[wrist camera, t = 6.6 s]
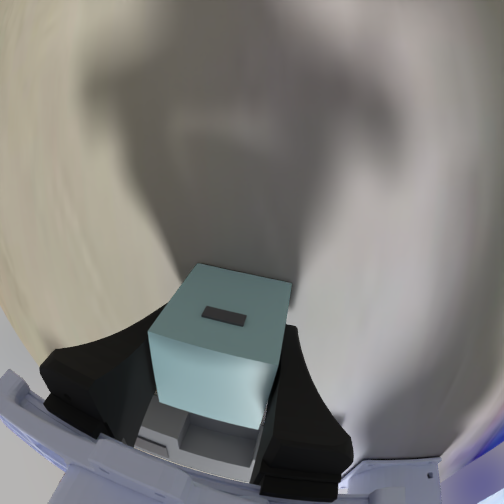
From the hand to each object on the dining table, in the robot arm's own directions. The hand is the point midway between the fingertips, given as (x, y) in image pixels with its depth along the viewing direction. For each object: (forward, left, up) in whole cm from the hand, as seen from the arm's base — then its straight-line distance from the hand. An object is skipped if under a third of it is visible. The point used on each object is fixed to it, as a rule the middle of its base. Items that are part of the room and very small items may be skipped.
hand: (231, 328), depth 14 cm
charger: (0, +1, -1) cm, 2 cm away
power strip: (0, +14, -2) cm, 14 cm away
